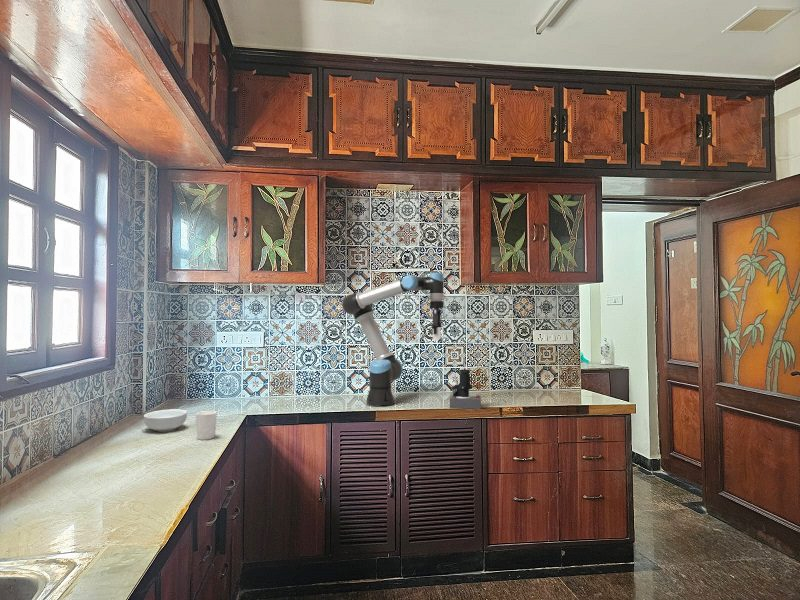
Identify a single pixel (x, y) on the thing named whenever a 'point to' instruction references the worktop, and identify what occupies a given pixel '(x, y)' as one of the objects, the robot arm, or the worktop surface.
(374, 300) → the robot arm
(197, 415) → the white cup
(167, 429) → the cereal bowl
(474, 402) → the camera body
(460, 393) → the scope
